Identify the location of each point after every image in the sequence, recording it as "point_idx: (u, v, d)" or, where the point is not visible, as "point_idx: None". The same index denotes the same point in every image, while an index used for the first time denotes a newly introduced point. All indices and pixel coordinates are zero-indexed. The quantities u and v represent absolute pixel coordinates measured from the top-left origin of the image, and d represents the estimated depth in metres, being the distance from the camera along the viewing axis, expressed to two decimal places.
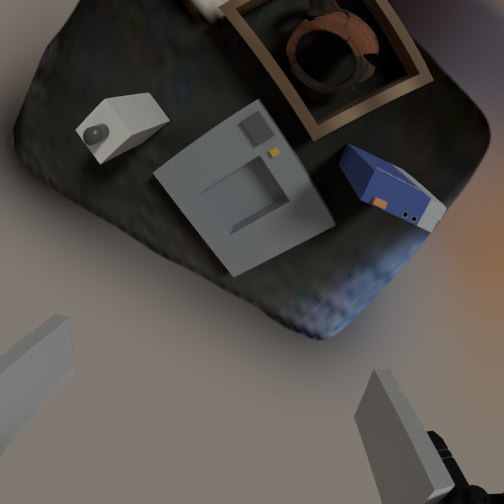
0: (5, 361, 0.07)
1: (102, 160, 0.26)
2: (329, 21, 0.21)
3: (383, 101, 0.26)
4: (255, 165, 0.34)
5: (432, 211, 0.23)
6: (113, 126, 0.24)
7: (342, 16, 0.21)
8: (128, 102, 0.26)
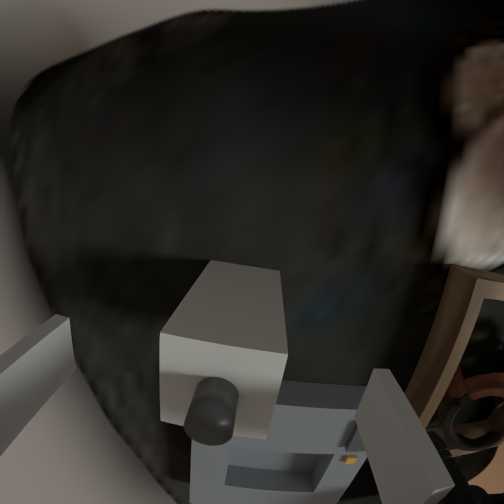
0: (5, 361, 0.07)
1: (171, 421, 0.11)
2: None
3: (462, 453, 0.19)
4: None
5: None
6: (250, 407, 0.11)
7: None
8: None
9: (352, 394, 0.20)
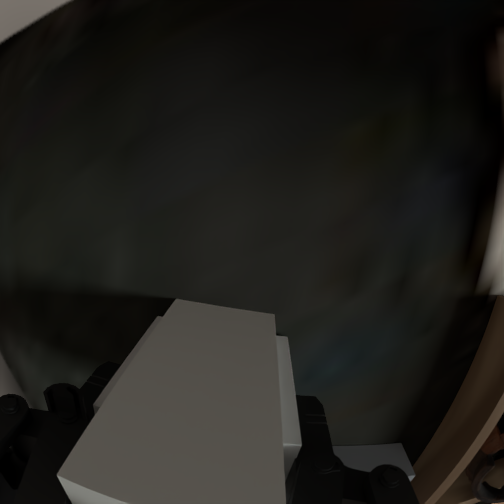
0: None
1: None
2: None
3: None
4: None
5: None
6: None
7: None
8: None
9: (366, 459, 0.14)
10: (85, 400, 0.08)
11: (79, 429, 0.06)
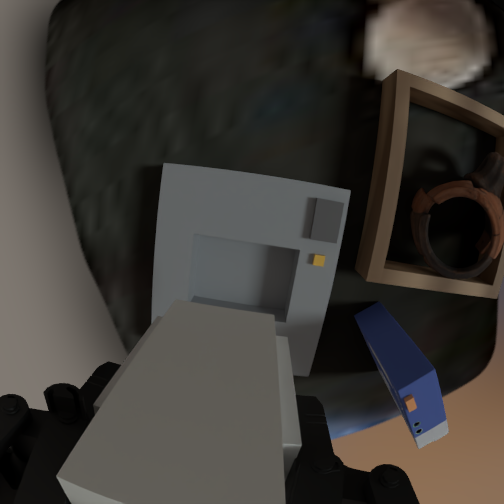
0: None
1: None
2: (491, 203, 0.19)
3: (451, 289, 0.23)
4: (275, 253, 0.26)
5: (437, 431, 0.17)
6: None
7: (500, 206, 0.19)
8: None
9: None
10: (85, 400, 0.08)
11: (79, 429, 0.06)
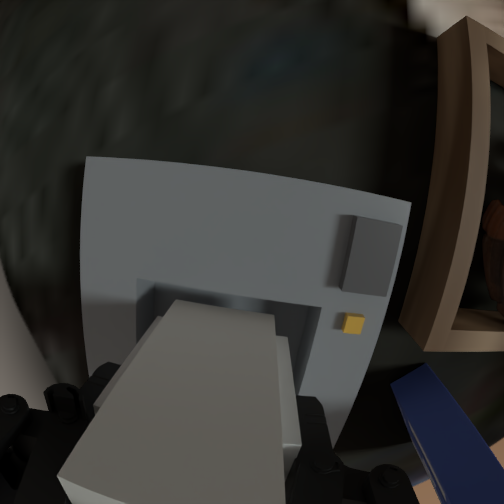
0: None
1: None
2: None
3: None
4: (278, 304, 0.16)
5: None
6: None
7: None
8: None
9: None
10: (85, 400, 0.08)
11: (79, 429, 0.06)
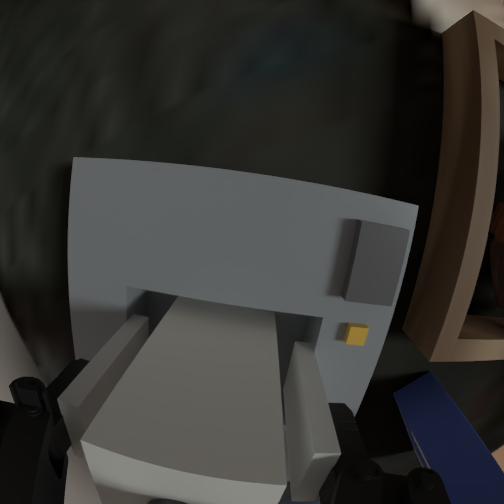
0: (101, 363, 0.09)
1: None
2: None
3: None
4: (276, 312, 0.15)
5: None
6: None
7: None
8: None
9: None
10: (53, 395, 0.08)
11: (44, 421, 0.06)
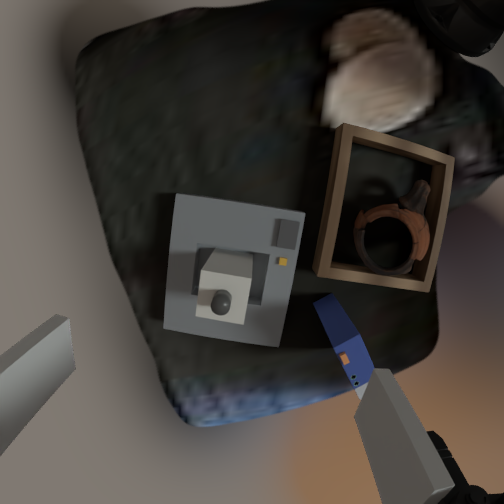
0: (5, 361, 0.07)
1: (200, 315, 0.28)
2: (412, 219, 0.30)
3: (385, 283, 0.34)
4: (254, 257, 0.37)
5: None
6: (236, 305, 0.27)
7: (422, 221, 0.30)
8: None
9: (278, 207, 0.35)
10: None
11: None
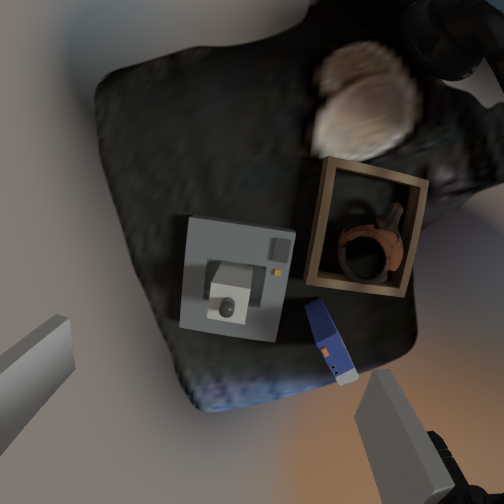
0: (5, 361, 0.07)
1: (210, 317, 0.35)
2: (385, 238, 0.37)
3: (364, 290, 0.41)
4: (254, 268, 0.44)
5: (349, 375, 0.35)
6: (239, 309, 0.35)
7: (394, 238, 0.37)
8: None
9: (273, 227, 0.42)
10: None
11: None
